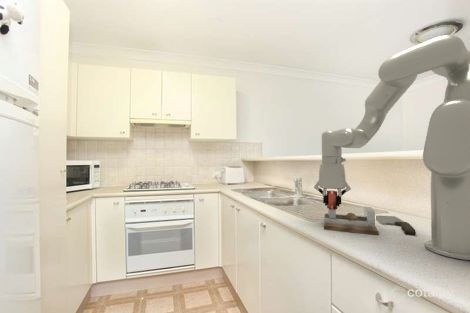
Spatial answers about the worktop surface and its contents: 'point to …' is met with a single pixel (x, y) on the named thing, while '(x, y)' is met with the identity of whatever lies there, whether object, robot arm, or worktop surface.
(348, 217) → the walnut
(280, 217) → the worktop surface
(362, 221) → the press frame
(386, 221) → the cleaver
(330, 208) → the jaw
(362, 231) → the press base
